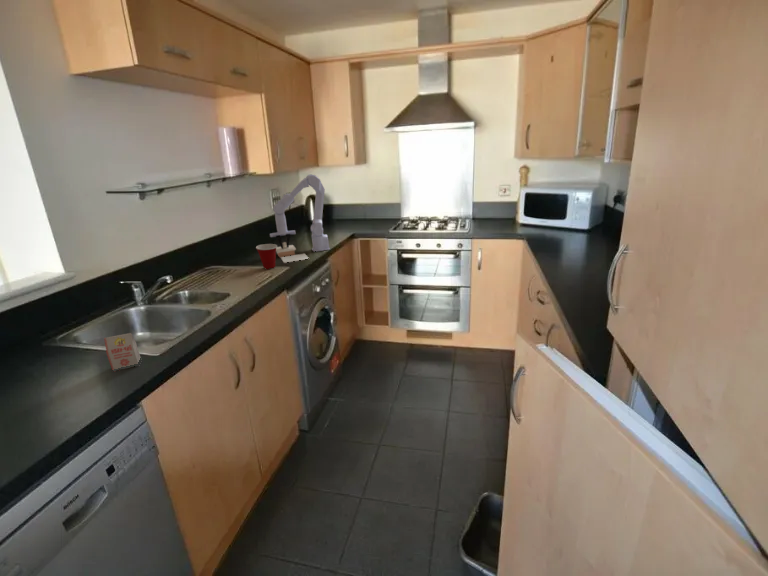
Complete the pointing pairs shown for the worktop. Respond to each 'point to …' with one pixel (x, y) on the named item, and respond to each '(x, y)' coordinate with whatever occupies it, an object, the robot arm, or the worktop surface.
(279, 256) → the block
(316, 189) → the robot arm
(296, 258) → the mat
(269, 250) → the plastic cup
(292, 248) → the lid
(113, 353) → the beige cardboard box
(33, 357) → the worktop surface
